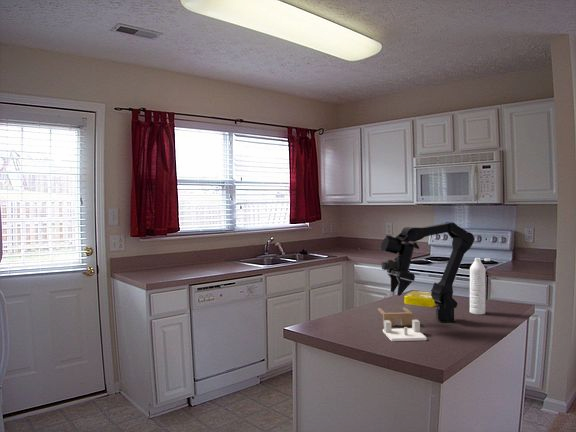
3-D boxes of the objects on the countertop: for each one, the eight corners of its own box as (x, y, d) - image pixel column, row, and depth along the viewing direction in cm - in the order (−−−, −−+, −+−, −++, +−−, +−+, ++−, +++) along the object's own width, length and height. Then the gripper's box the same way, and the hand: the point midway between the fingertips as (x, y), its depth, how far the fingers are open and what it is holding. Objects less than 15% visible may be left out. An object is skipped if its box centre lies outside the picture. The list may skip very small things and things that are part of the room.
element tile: (441, 302, 220) (441, 292, 220) (434, 308, 207) (434, 298, 207) (411, 298, 228) (411, 289, 228) (403, 304, 215) (403, 295, 215)
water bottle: (467, 313, 196) (467, 257, 195) (472, 310, 201) (472, 256, 200) (487, 316, 190) (487, 259, 190) (492, 313, 195) (492, 258, 194)
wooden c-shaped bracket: (378, 319, 187) (378, 308, 187) (405, 318, 188) (405, 307, 188) (384, 326, 178) (384, 313, 177) (413, 325, 178) (413, 313, 178)
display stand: (382, 331, 170) (382, 319, 170) (415, 330, 171) (415, 318, 171) (391, 341, 158) (391, 327, 158) (426, 340, 159) (426, 327, 159)
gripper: (380, 250, 188) (371, 285, 188) (392, 253, 170) (382, 292, 169) (404, 257, 189) (395, 291, 188) (419, 260, 170) (409, 299, 170)
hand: (395, 293), depth 179 cm, fingers open, 9 cm apart
